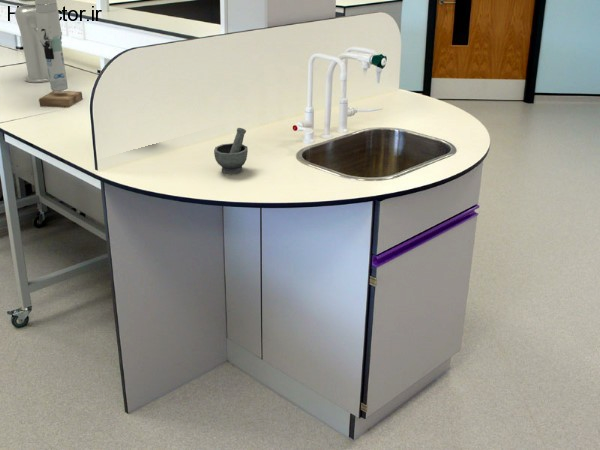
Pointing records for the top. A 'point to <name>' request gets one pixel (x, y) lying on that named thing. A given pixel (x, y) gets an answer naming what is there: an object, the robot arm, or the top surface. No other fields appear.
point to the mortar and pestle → (232, 154)
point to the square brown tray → (60, 99)
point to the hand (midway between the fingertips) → (54, 56)
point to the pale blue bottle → (57, 67)
